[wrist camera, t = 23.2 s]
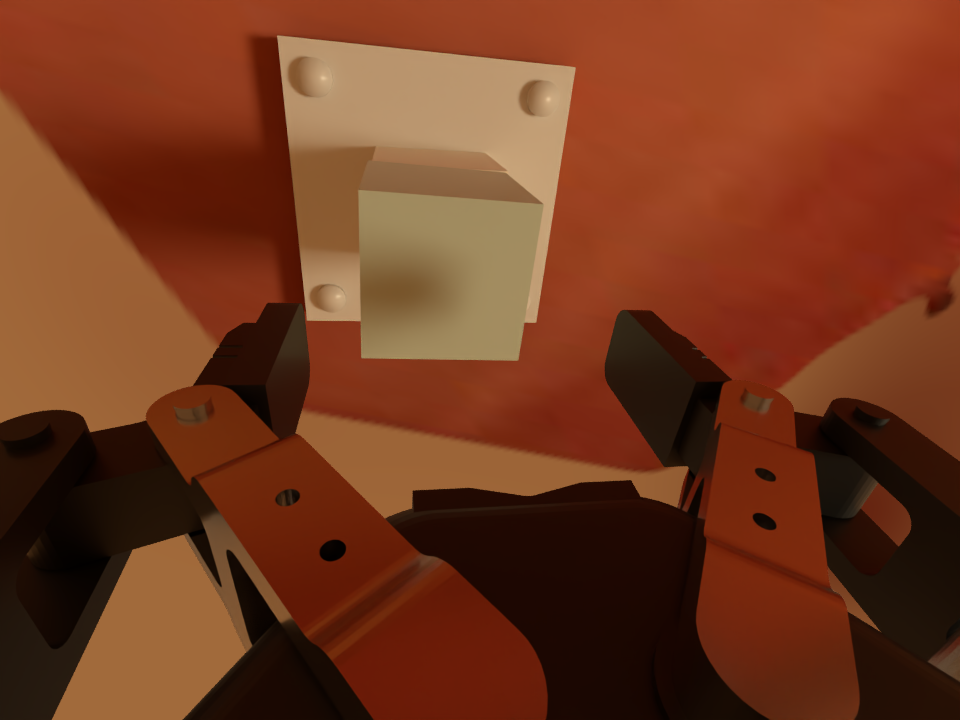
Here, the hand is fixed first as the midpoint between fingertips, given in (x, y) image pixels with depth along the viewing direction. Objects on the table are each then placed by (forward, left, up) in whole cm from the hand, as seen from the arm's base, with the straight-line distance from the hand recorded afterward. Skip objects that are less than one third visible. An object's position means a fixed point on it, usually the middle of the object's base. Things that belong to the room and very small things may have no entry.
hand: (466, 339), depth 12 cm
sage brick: (0, 0, -10) cm, 10 cm away
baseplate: (0, 0, -17) cm, 17 cm away
